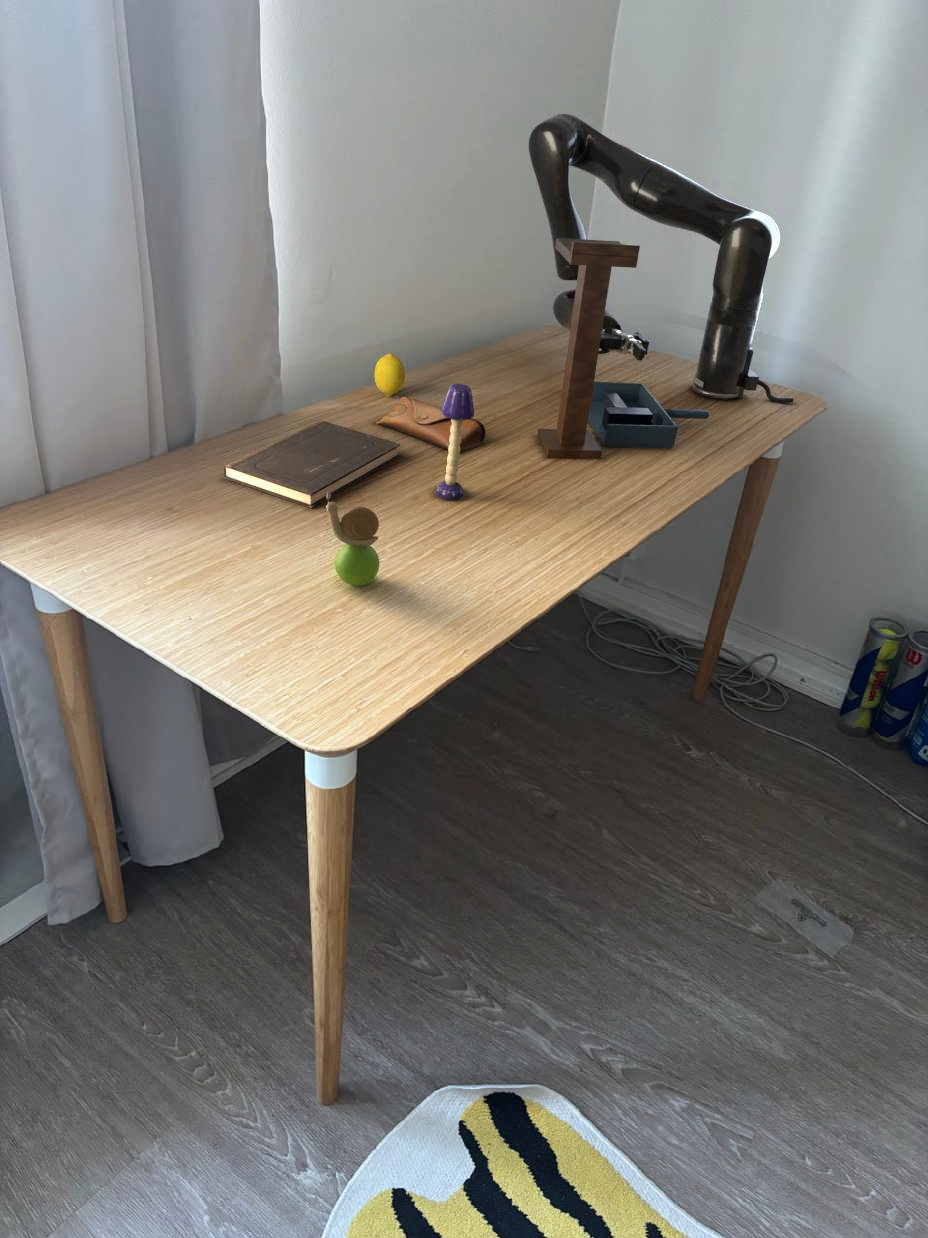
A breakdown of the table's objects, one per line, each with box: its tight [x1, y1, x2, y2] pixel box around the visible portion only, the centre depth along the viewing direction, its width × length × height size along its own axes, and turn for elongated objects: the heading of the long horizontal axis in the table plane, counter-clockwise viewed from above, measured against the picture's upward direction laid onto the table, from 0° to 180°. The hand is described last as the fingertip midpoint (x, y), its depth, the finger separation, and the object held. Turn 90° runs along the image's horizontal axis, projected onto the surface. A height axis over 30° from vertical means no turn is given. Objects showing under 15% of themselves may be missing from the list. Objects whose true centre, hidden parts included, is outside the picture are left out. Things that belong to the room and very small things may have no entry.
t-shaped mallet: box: [602, 391, 653, 429], centre depth 168 cm, size 14×8×3 cm, turn 7°
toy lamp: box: [435, 383, 475, 501], centre depth 133 cm, size 5×5×17 cm
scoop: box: [588, 381, 711, 449], centre depth 167 cm, size 22×22×4 cm
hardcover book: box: [223, 419, 401, 509], centre depth 141 cm, size 16×23×2 cm
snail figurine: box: [325, 492, 380, 587], centre depth 111 cm, size 5×6×12 cm
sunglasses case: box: [375, 394, 487, 452], centre depth 156 cm, size 18×7×7 cm
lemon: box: [374, 352, 406, 398], centre depth 168 cm, size 6×6×8 cm
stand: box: [536, 238, 641, 460], centre depth 147 cm, size 10×11×34 cm
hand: (618, 354), depth 169 cm, fingers open, 8 cm apart
